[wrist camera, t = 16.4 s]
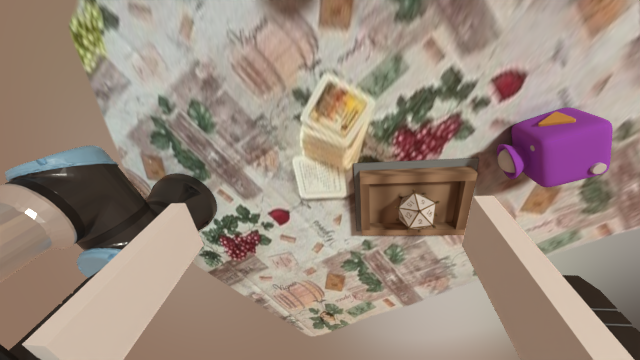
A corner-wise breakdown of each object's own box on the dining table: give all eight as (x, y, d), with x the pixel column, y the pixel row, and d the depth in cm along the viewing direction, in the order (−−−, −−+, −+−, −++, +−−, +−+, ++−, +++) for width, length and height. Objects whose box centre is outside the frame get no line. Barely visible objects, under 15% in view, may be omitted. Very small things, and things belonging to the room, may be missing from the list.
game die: (418, 190, 57) (456, 220, 51) (391, 216, 58) (424, 249, 52) (408, 172, 51) (450, 204, 44) (377, 202, 52) (414, 238, 45)
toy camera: (479, 136, 47) (507, 159, 39) (564, 93, 42) (618, 109, 34) (498, 179, 51) (527, 209, 43) (578, 144, 46) (630, 170, 38)
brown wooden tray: (361, 225, 61) (361, 235, 58) (359, 169, 54) (359, 177, 51) (458, 224, 58) (463, 235, 55) (470, 165, 50) (477, 173, 47)
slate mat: (356, 230, 62) (356, 231, 61) (353, 163, 53) (353, 164, 53) (462, 229, 58) (463, 230, 58) (478, 157, 49) (479, 158, 49)
